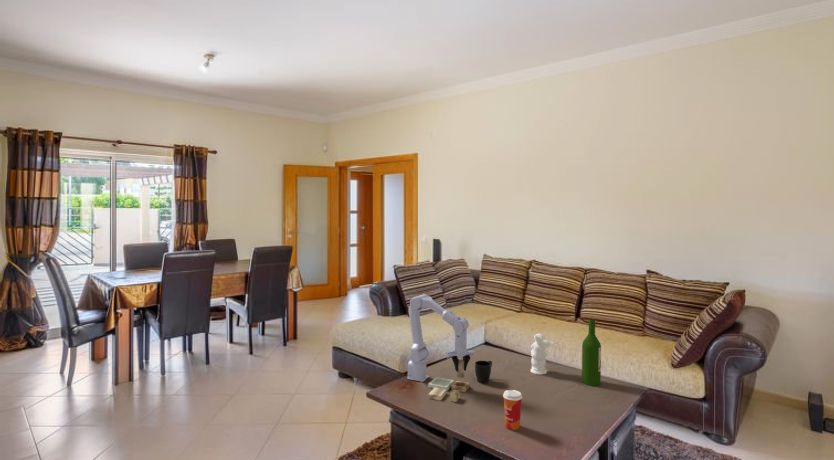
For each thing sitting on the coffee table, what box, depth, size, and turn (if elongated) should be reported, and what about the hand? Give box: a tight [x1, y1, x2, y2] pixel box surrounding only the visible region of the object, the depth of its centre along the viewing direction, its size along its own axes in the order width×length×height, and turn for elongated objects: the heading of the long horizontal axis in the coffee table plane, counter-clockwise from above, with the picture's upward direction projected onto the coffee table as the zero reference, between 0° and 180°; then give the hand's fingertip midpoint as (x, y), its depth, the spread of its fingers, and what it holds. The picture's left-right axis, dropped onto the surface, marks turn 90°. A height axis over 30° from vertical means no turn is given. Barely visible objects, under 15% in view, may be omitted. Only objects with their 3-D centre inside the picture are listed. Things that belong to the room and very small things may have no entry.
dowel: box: [456, 358, 465, 379], centre depth 212 cm, size 4×4×8 cm
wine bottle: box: [581, 318, 602, 387], centre depth 218 cm, size 9×9×32 cm
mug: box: [474, 360, 493, 384], centre depth 222 cm, size 8×12×10 cm
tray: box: [427, 376, 455, 392], centre depth 216 cm, size 10×10×2 cm
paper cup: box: [502, 389, 523, 431], centre depth 174 cm, size 8×8×14 cm
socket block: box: [451, 380, 471, 393], centre depth 213 cm, size 7×7×2 cm
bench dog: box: [449, 390, 461, 403], centre depth 200 cm, size 3×5×4 cm, turn 155°
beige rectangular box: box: [428, 388, 447, 401], centre depth 204 cm, size 6×8×2 cm
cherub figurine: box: [529, 333, 555, 376], centre depth 232 cm, size 12×12×22 cm
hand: (460, 370), depth 212 cm, fingers closed on dowel, 3 cm apart
